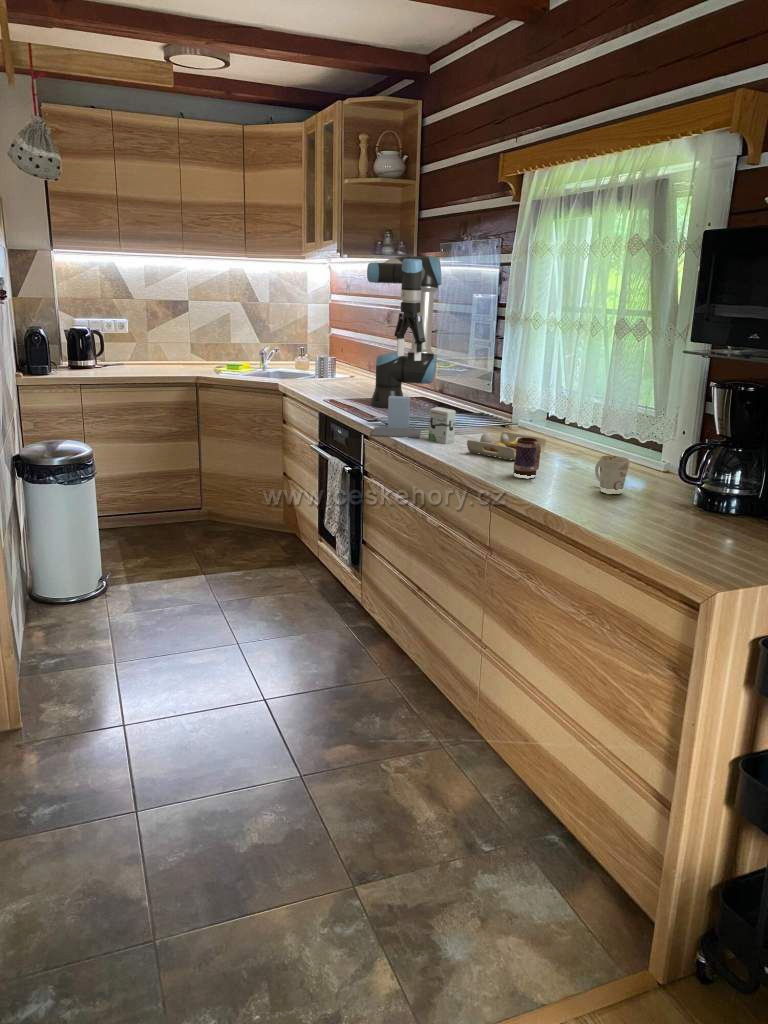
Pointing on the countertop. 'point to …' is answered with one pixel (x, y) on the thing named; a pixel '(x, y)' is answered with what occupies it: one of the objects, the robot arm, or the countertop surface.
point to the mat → (396, 432)
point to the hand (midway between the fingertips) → (408, 358)
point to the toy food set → (501, 444)
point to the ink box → (442, 425)
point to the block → (398, 412)
